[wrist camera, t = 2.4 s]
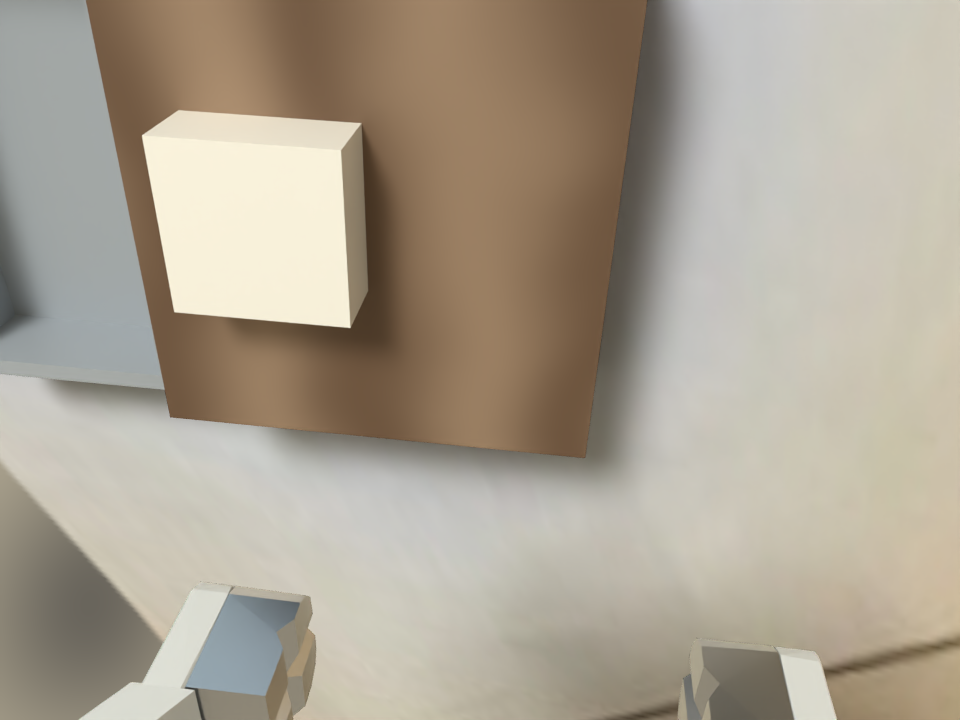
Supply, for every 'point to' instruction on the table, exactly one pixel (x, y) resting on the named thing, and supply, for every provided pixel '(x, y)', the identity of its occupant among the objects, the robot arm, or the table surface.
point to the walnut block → (404, 205)
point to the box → (64, 210)
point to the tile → (261, 216)
